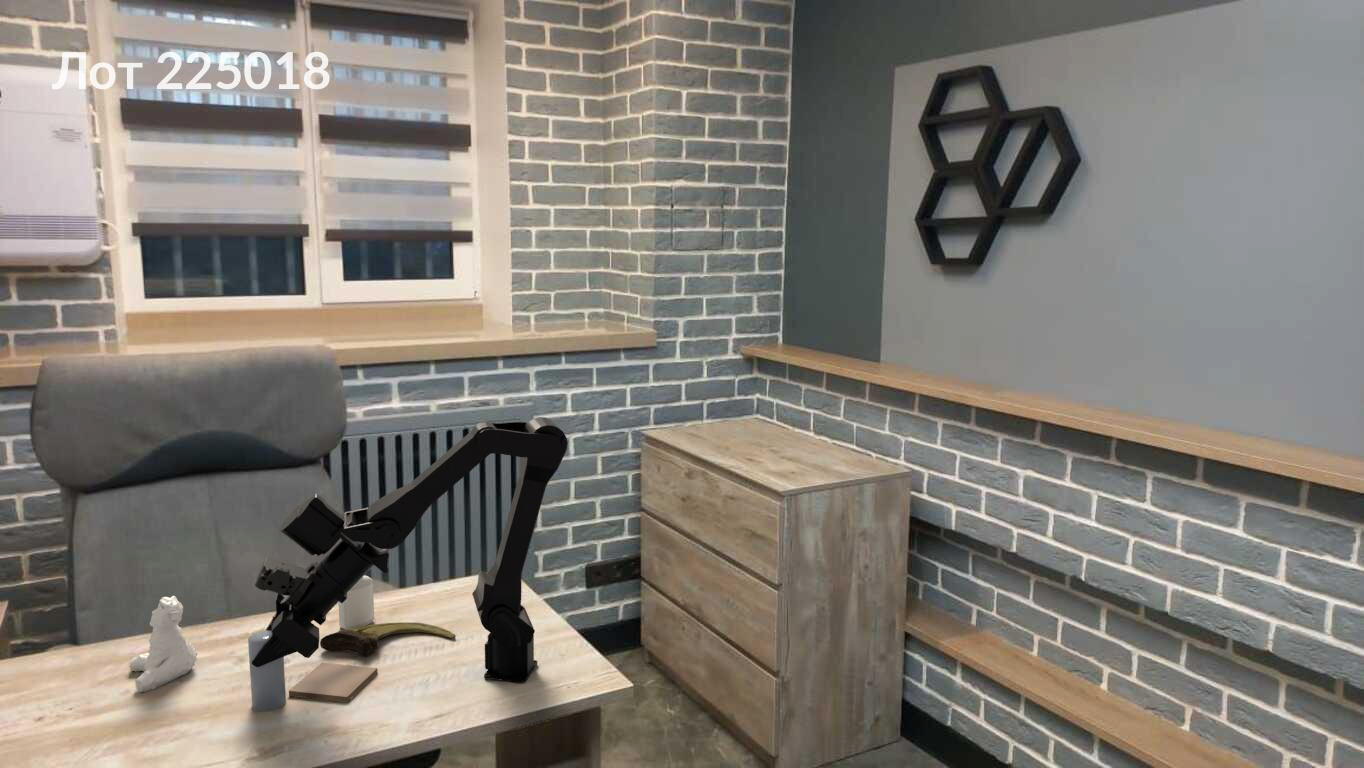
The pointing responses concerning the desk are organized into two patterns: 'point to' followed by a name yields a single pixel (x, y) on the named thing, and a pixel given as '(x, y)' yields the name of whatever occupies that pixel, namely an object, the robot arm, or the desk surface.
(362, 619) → the eye dropper bottle
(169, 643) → the white creature statuette
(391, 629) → the claw
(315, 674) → the coaster
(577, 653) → the desk surface
